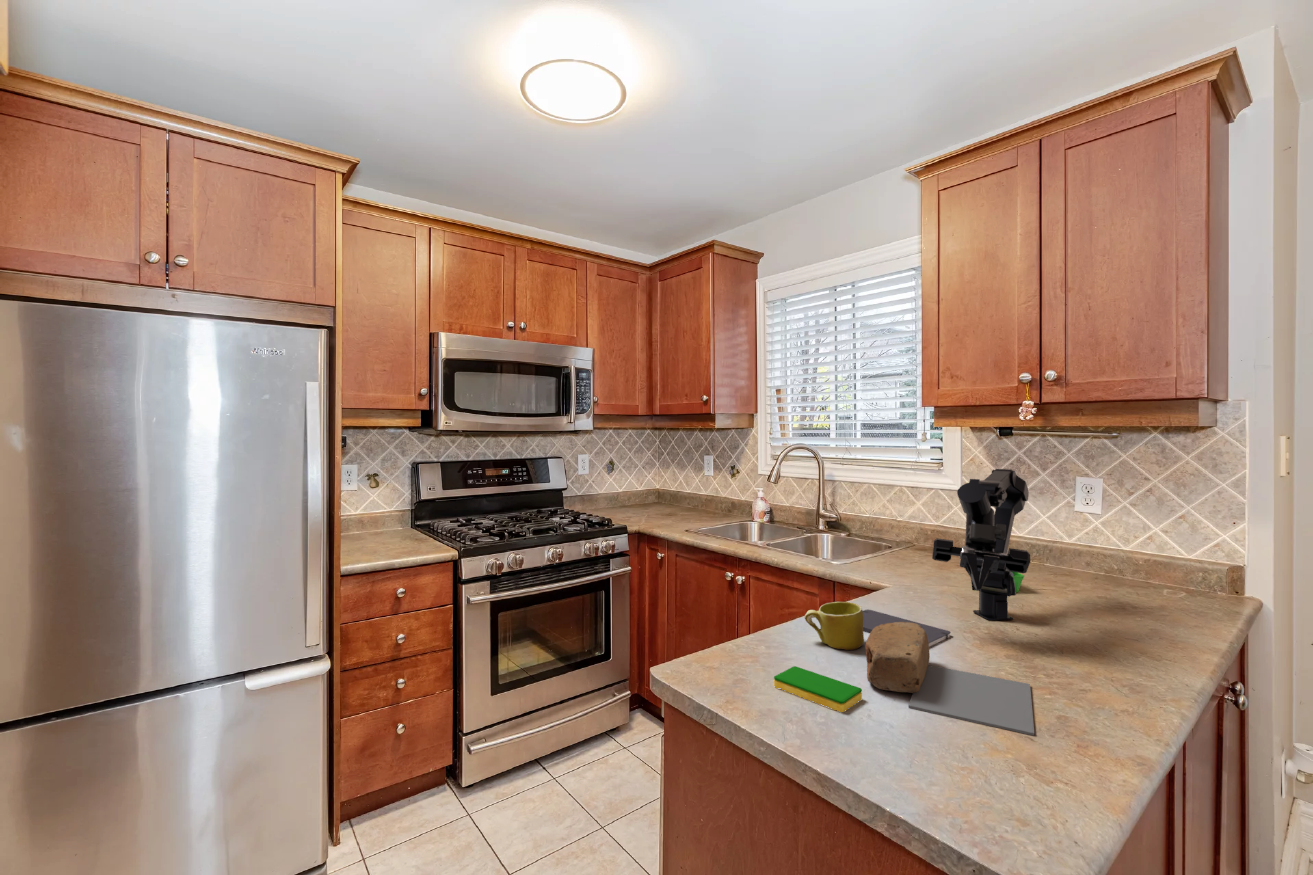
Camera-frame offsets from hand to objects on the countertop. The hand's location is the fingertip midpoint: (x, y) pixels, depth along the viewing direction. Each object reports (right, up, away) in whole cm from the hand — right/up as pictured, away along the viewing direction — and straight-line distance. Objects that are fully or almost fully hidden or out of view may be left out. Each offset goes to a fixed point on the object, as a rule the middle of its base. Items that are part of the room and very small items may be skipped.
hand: (978, 589), depth 127 cm
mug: (-30, -13, +3) cm, 33 cm away
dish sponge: (-40, -14, -21) cm, 47 cm away
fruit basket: (+31, -11, +46) cm, 56 cm away
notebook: (-14, -13, +11) cm, 22 cm away
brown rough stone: (-18, -9, -4) cm, 21 cm away
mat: (-13, -13, -22) cm, 29 cm away
